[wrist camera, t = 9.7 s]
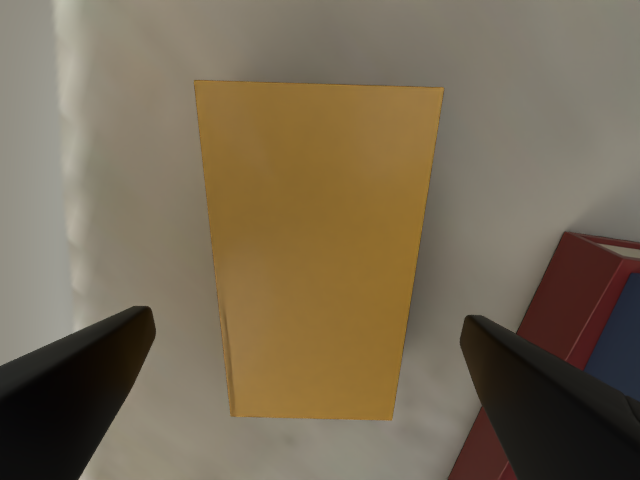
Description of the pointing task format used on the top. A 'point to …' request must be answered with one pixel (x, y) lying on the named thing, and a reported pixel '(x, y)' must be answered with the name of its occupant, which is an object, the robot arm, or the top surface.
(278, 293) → the top book
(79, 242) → the top surface
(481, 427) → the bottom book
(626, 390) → the middle book
